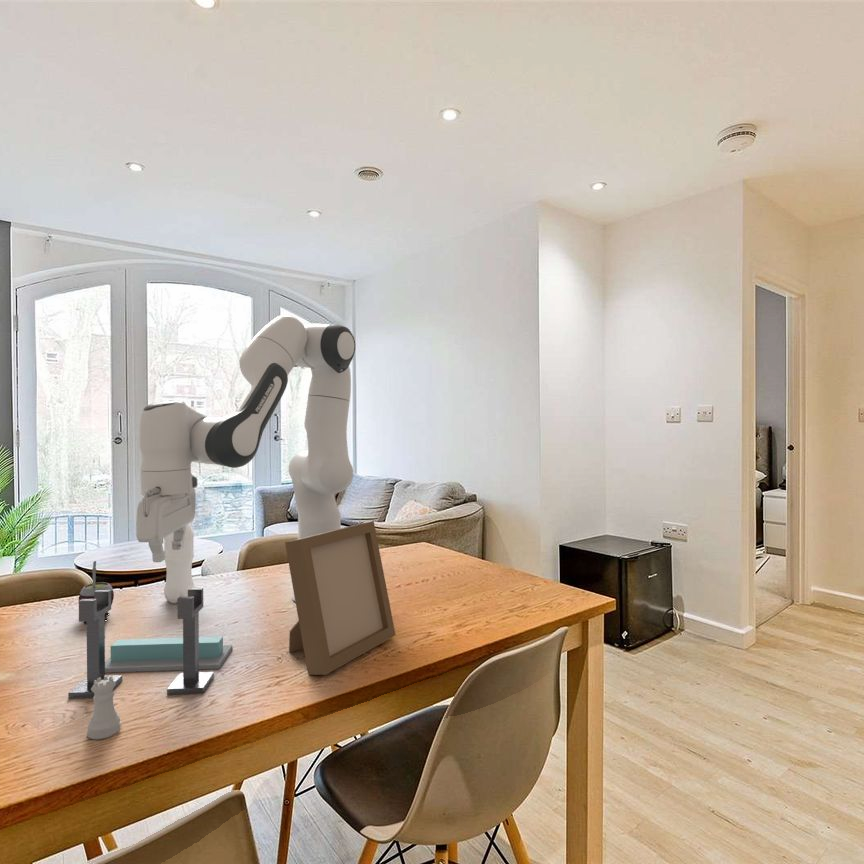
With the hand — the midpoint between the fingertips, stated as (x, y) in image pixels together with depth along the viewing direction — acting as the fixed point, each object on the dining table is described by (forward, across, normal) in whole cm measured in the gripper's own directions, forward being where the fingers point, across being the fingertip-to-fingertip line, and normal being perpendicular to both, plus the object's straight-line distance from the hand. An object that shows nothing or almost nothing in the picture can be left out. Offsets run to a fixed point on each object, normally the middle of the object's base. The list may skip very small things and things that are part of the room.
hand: (168, 554), depth 108 cm
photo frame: (+22, +2, -31) cm, 38 cm away
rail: (+20, 0, +1) cm, 20 cm away
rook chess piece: (+21, -25, +1) cm, 33 cm away
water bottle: (+21, +37, +12) cm, 44 cm away
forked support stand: (+20, -11, +1) cm, 23 cm away
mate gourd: (+21, +24, +26) cm, 41 cm away
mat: (+21, 0, +1) cm, 21 cm away
